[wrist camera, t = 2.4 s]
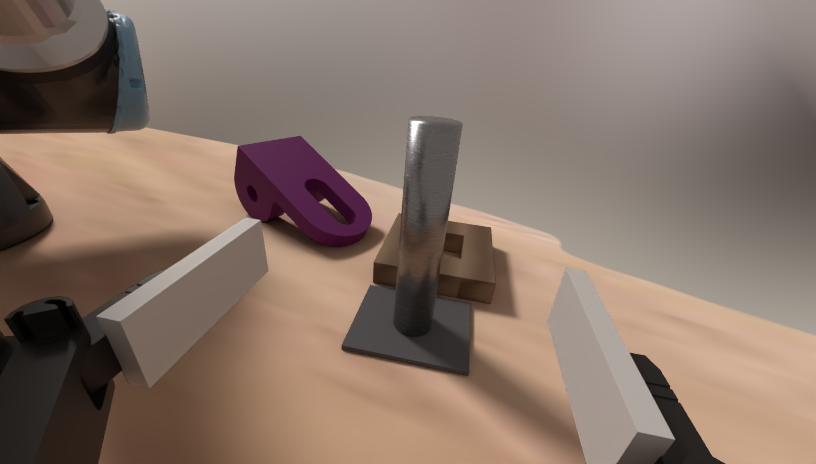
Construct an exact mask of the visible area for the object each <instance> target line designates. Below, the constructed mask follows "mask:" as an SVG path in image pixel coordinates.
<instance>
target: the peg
mask: <svg viewBox="0 0 816 464" xmlns="http://www.w3.org/2000/svg"><path fill="white" fill-rule="evenodd" d="M462 125H463V124H462V123H461V122H459V121H456V120H453V119H448V118H441V117H432V116H431V117H430V116H416V117H411V118H409V124H408V136H407V137H408V138H407V149H406V162H405V176H404V188H403V201H402V214H401V227H400V240H399V252H398V265H397V278H396V291H395V304H394V317H393V324H394V327H395V328H396V330H397V331H398V332H400V333H401V334H403V335H406V336H409V337H419V336H423V335H425V334H427V333H428V332H429V331H430V329H431V327H432V321H433V314H434V308H435V301H436V295H437V288H438V282H439V275H440V269H441V262H442V256H443V249H444V243H445V236H446V229H447V223H448V216H449V210H450V203H451V196H452V190H453V183H454V177H455V171H456V164H457V158H458V151H459V144H460V138H461V131H462Z"/></svg>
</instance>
